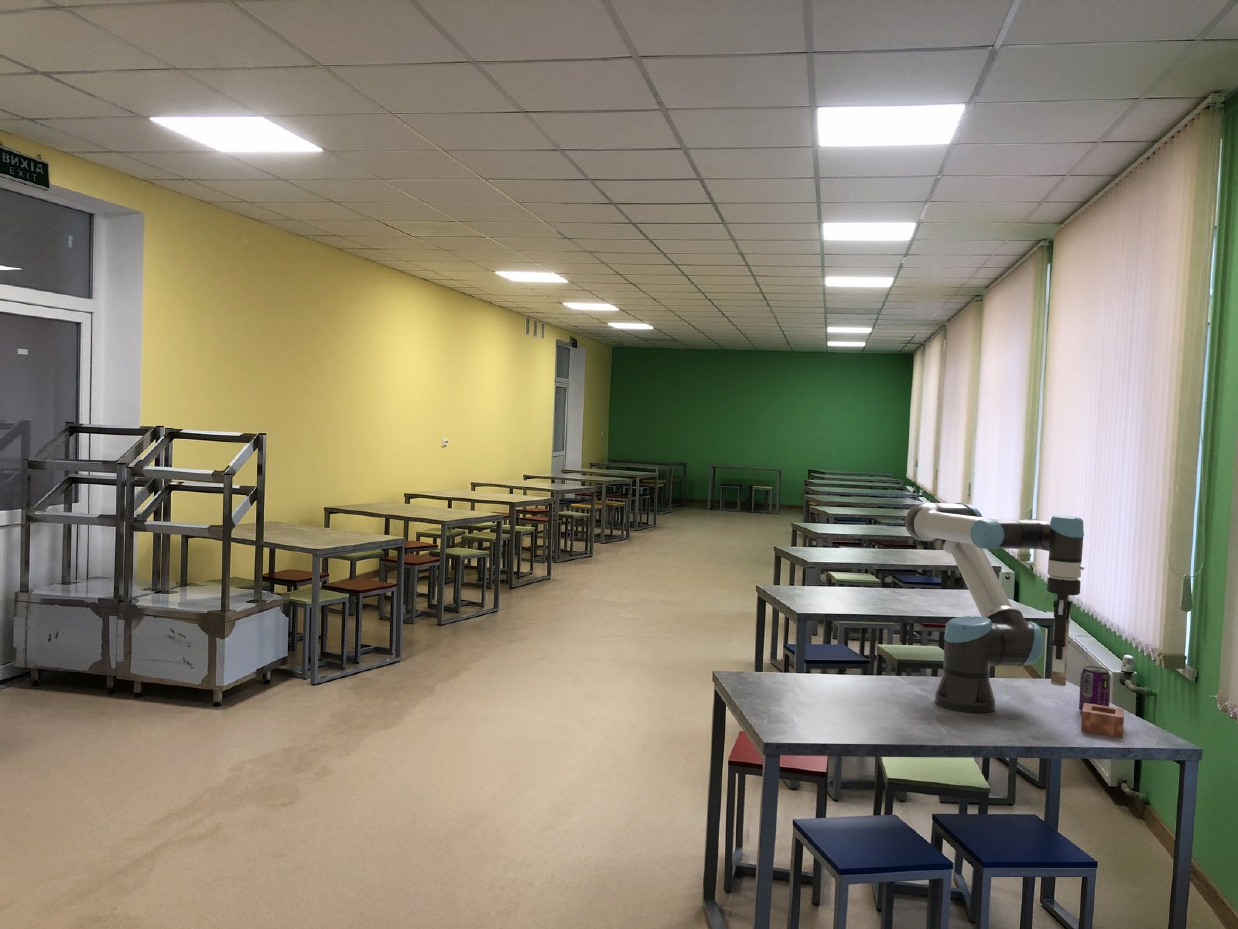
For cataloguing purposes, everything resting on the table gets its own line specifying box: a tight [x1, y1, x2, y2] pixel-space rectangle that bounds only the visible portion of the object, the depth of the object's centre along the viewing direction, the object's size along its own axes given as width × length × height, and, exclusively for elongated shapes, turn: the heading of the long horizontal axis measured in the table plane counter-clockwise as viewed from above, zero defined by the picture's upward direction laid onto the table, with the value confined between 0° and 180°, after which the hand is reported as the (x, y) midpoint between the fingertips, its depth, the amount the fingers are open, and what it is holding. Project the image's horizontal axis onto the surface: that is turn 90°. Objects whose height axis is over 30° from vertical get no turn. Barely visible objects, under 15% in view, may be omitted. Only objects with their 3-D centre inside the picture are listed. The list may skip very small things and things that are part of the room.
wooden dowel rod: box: [1050, 613, 1071, 687], centre depth 232 cm, size 4×4×18 cm
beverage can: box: [1078, 665, 1111, 712], centre depth 245 cm, size 7×7×12 cm
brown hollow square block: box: [1080, 703, 1125, 739], centre depth 230 cm, size 9×9×5 cm
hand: (1058, 670), depth 233 cm, fingers closed on wooden dowel rod, 3 cm apart
